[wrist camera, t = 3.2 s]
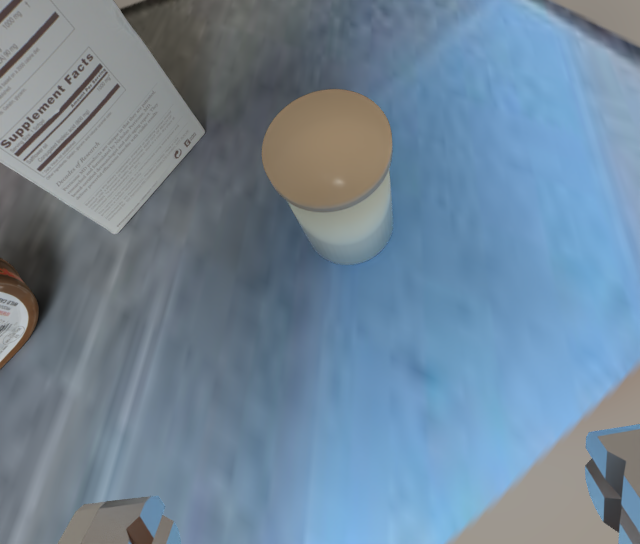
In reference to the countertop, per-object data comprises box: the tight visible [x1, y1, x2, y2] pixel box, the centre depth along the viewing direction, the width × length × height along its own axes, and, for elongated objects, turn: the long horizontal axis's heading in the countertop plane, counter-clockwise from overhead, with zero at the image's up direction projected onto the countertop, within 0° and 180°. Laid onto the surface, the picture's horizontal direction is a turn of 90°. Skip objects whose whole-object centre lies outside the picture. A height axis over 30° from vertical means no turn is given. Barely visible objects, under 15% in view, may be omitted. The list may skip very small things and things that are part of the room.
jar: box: [262, 89, 393, 265], centre depth 22 cm, size 5×5×8 cm
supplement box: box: [0, 0, 205, 234], centre depth 23 cm, size 10×9×17 cm
